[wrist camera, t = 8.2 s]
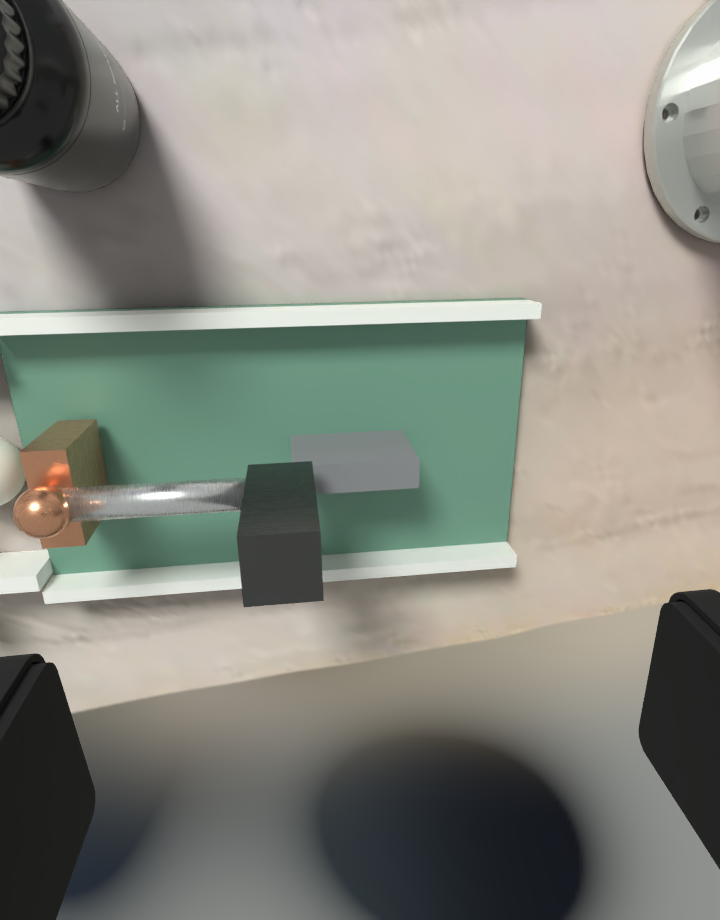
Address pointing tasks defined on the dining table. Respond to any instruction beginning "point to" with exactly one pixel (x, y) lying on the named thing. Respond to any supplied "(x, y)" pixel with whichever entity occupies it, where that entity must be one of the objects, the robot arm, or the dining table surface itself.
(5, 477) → the ball
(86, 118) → the supplement bottle
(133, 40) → the dining table surface
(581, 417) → the dining table surface
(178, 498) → the copper block with rod
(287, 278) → the dining table surface
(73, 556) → the pitch
